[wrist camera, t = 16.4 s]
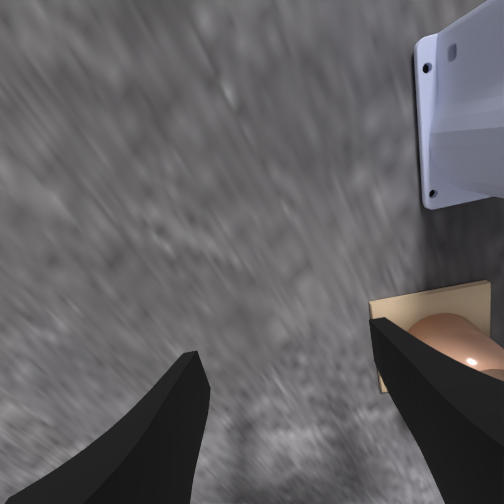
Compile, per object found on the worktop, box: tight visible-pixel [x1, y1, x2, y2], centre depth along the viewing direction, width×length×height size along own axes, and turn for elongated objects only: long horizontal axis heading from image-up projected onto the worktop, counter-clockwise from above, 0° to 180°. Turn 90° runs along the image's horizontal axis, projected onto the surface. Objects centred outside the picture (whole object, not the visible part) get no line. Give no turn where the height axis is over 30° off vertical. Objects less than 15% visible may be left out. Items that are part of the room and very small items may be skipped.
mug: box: [407, 313, 504, 381], centre depth 20 cm, size 9×6×5 cm, turn 13°
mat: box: [369, 280, 491, 392], centre depth 22 cm, size 8×8×1 cm
